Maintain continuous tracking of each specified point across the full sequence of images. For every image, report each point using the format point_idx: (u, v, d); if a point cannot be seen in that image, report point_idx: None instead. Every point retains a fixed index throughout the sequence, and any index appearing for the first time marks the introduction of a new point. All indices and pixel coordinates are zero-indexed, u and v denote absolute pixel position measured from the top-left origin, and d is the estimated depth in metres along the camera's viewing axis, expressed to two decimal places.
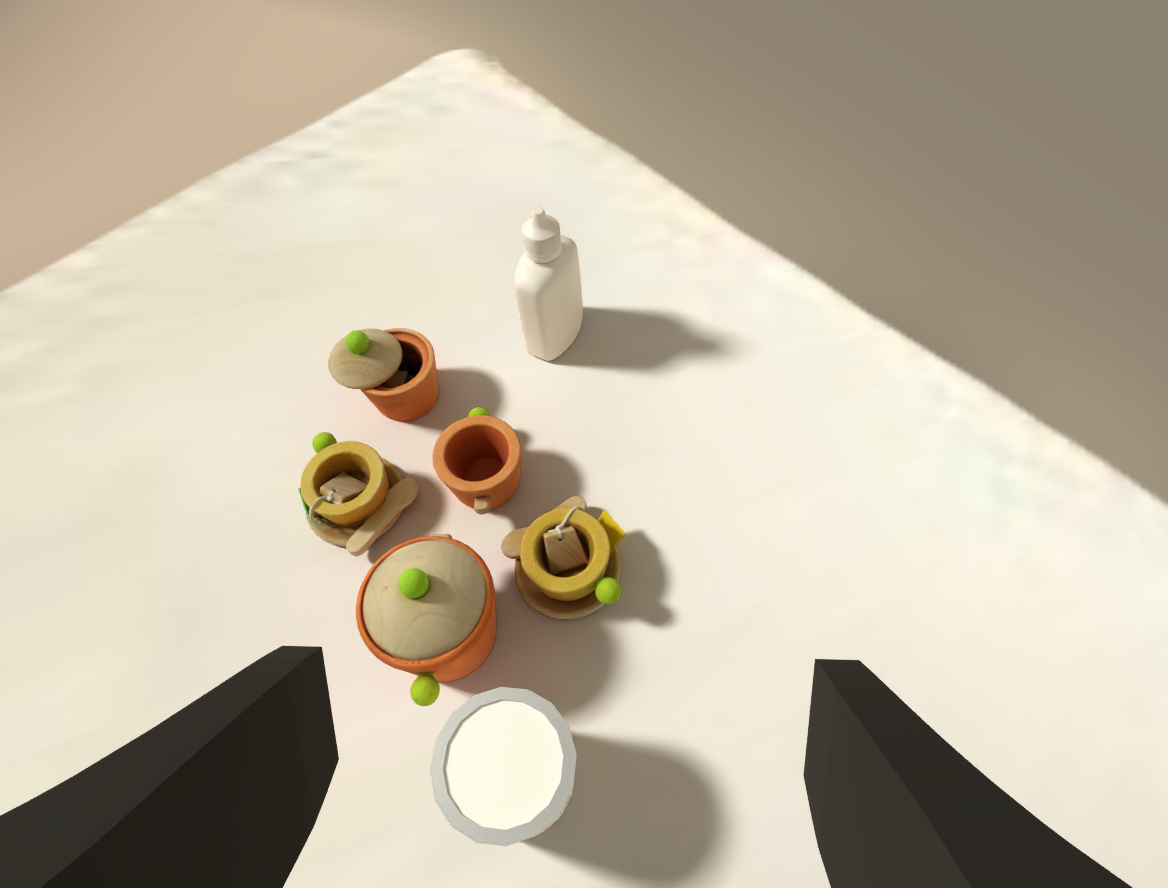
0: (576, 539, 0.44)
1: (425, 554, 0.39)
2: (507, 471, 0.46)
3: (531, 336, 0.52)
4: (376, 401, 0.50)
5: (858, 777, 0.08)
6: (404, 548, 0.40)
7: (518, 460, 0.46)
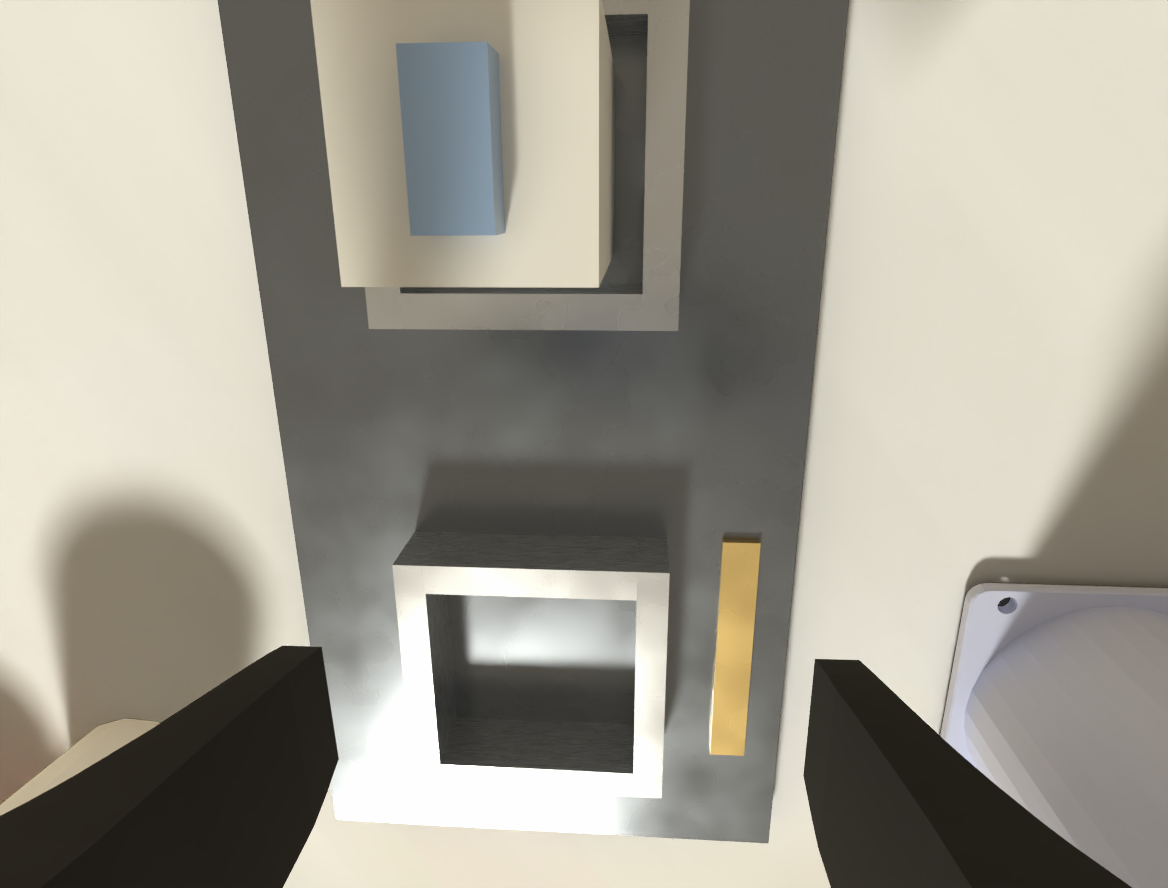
0: None
1: None
2: None
3: None
4: None
5: (858, 778, 0.08)
6: None
7: None
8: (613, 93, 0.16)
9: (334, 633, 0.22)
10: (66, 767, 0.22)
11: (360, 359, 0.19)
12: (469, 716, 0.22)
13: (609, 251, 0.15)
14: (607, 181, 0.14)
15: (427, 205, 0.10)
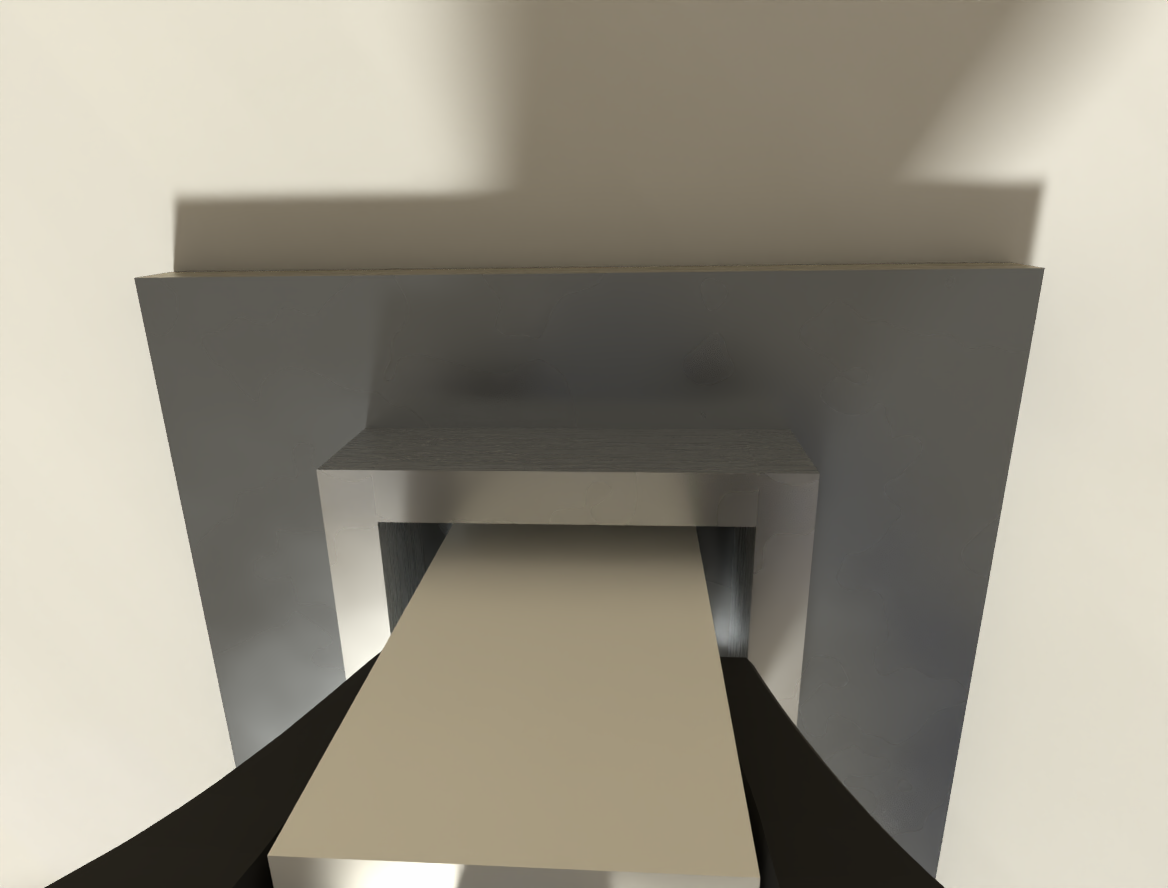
0: None
1: None
2: None
3: None
4: None
5: None
6: None
7: None
8: None
9: None
10: None
11: None
12: None
13: None
14: None
15: None
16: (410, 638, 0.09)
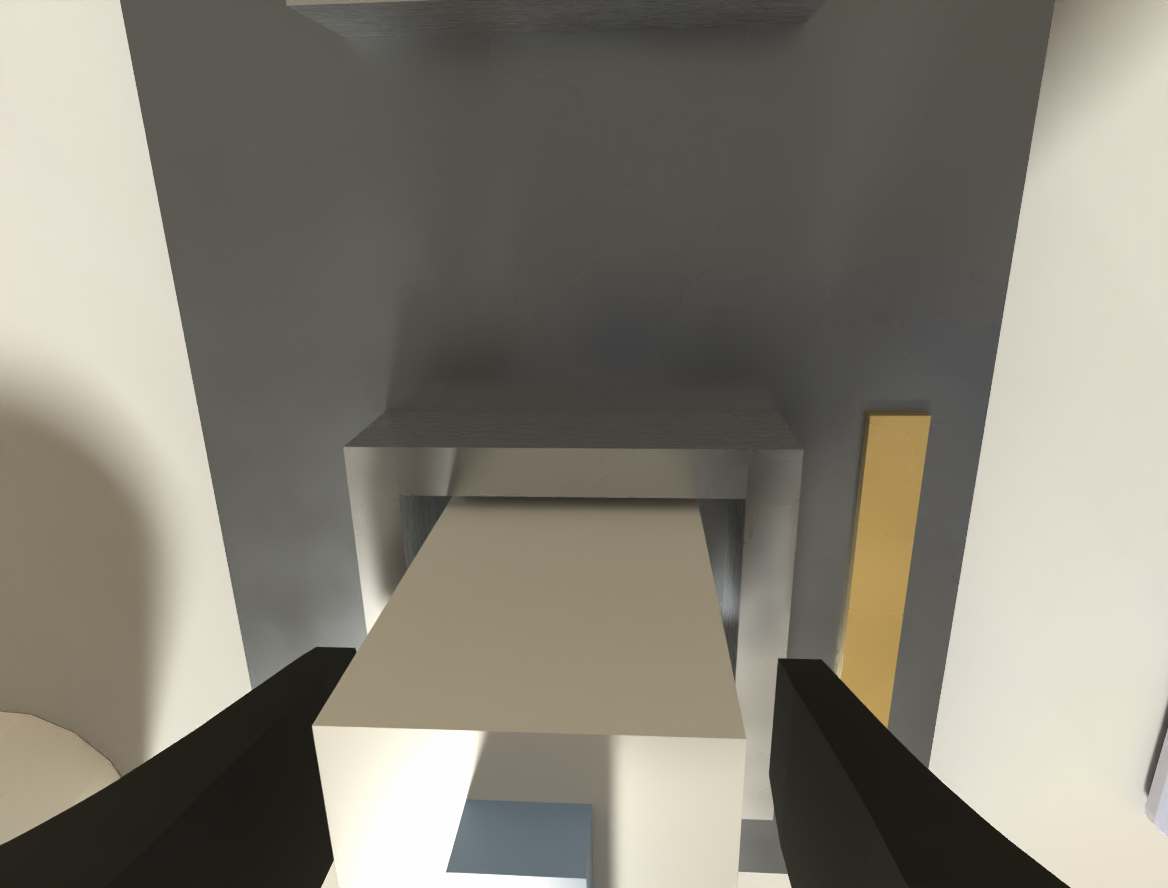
0: None
1: None
2: None
3: None
4: None
5: (812, 776, 0.08)
6: None
7: None
8: None
9: (268, 576, 0.14)
10: None
11: (289, 119, 0.12)
12: None
13: None
14: None
15: None
16: (429, 565, 0.10)
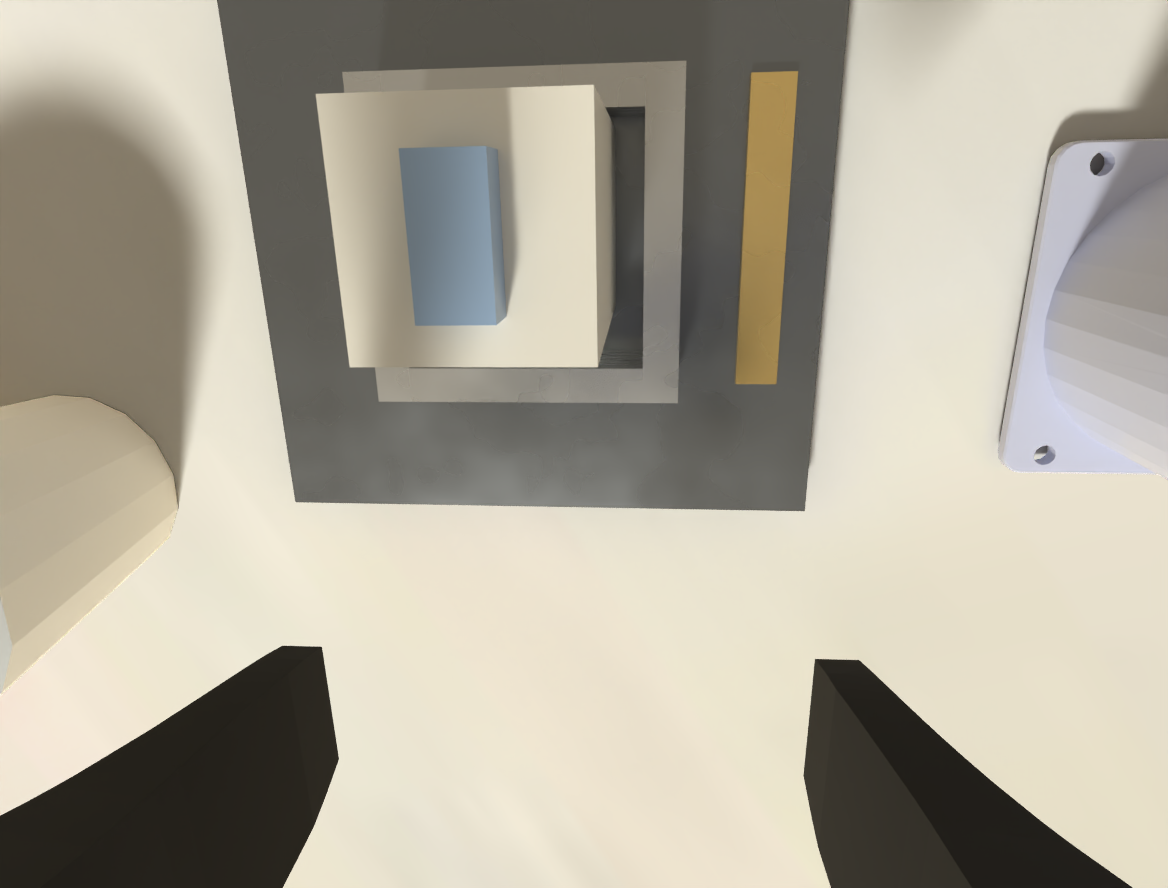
0: None
1: None
2: None
3: None
4: None
5: (858, 778, 0.08)
6: None
7: None
8: (613, 152, 0.16)
9: (285, 240, 0.18)
10: None
11: None
12: None
13: (610, 310, 0.15)
14: (607, 248, 0.14)
15: (431, 297, 0.10)
16: None
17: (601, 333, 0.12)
